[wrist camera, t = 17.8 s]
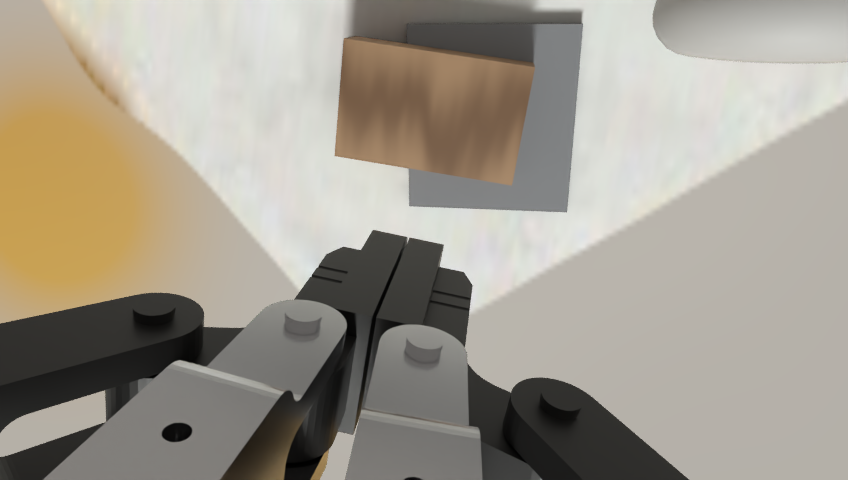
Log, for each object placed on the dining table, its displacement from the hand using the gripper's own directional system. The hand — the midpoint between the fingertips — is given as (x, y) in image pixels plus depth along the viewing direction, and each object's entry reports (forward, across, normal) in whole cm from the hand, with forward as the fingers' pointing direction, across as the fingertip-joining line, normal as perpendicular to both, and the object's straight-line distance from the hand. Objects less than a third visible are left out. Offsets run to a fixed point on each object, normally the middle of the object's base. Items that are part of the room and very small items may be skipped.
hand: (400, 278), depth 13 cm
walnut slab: (+20, -3, 0) cm, 21 cm away
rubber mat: (+22, -1, 0) cm, 22 cm away
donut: (+22, -12, -7) cm, 27 cm away
